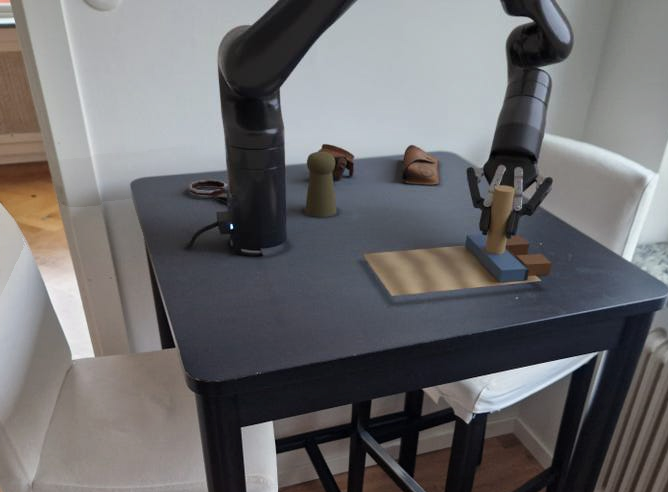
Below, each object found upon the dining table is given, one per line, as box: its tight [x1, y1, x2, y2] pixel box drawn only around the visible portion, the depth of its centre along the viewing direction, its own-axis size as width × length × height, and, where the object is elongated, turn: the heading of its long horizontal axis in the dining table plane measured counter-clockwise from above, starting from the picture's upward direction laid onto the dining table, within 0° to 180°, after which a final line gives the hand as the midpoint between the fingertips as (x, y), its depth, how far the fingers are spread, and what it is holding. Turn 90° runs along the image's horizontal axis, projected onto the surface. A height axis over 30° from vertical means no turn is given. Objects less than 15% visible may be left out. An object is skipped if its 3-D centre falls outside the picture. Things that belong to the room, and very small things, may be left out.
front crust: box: [516, 253, 552, 276], centre depth 105 cm, size 4×3×2 cm
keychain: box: [188, 179, 228, 204], centre depth 132 cm, size 8×19×2 cm, turn 55°
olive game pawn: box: [304, 151, 337, 218], centre depth 126 cm, size 6×6×11 cm
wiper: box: [464, 185, 529, 282], centre depth 104 cm, size 5×14×12 cm, turn 13°
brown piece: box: [308, 143, 355, 183], centre depth 143 cm, size 12×10×8 cm
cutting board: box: [361, 245, 542, 297], centre depth 106 cm, size 24×15×2 cm, turn 106°
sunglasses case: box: [401, 144, 440, 186], centre depth 151 cm, size 18×7×7 cm
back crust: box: [505, 235, 530, 256], centre depth 111 cm, size 4×3×2 cm
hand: (496, 234), depth 103 cm, fingers closed on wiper, 3 cm apart
